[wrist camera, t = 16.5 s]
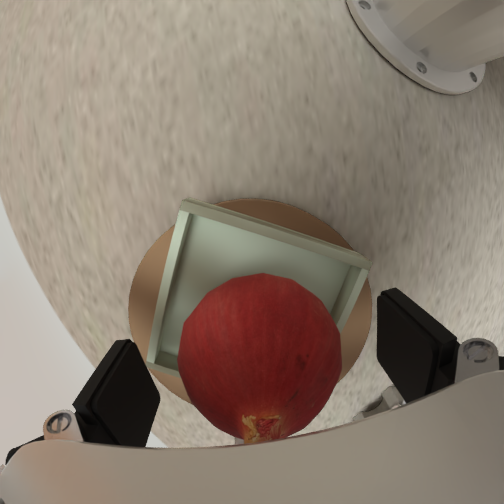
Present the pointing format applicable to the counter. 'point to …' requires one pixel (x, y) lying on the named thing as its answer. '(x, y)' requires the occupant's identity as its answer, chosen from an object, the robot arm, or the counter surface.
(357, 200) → the counter surface
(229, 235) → the disc
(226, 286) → the onion
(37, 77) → the counter surface
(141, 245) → the counter surface
